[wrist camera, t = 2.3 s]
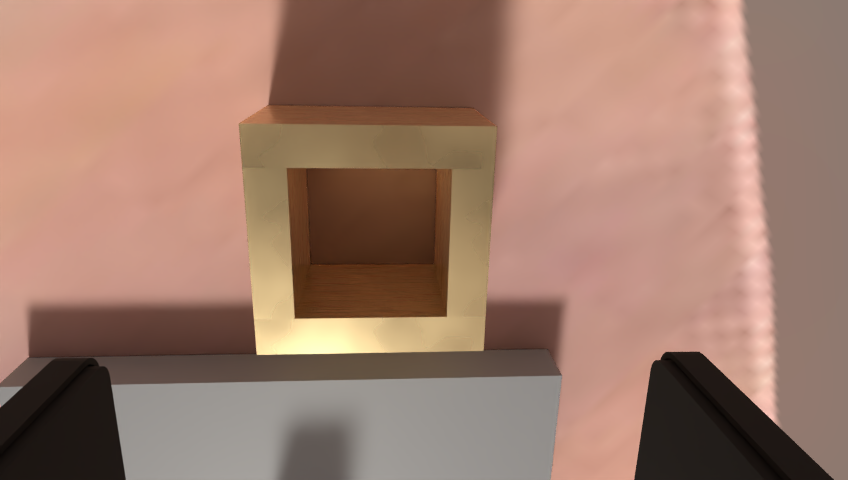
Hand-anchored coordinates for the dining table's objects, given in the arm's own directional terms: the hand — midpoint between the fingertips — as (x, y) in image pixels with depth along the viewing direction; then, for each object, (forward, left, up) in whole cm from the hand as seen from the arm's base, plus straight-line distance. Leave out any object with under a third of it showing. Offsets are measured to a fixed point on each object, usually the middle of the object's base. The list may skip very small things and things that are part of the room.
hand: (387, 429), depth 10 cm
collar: (-1, 0, -12) cm, 12 cm away
